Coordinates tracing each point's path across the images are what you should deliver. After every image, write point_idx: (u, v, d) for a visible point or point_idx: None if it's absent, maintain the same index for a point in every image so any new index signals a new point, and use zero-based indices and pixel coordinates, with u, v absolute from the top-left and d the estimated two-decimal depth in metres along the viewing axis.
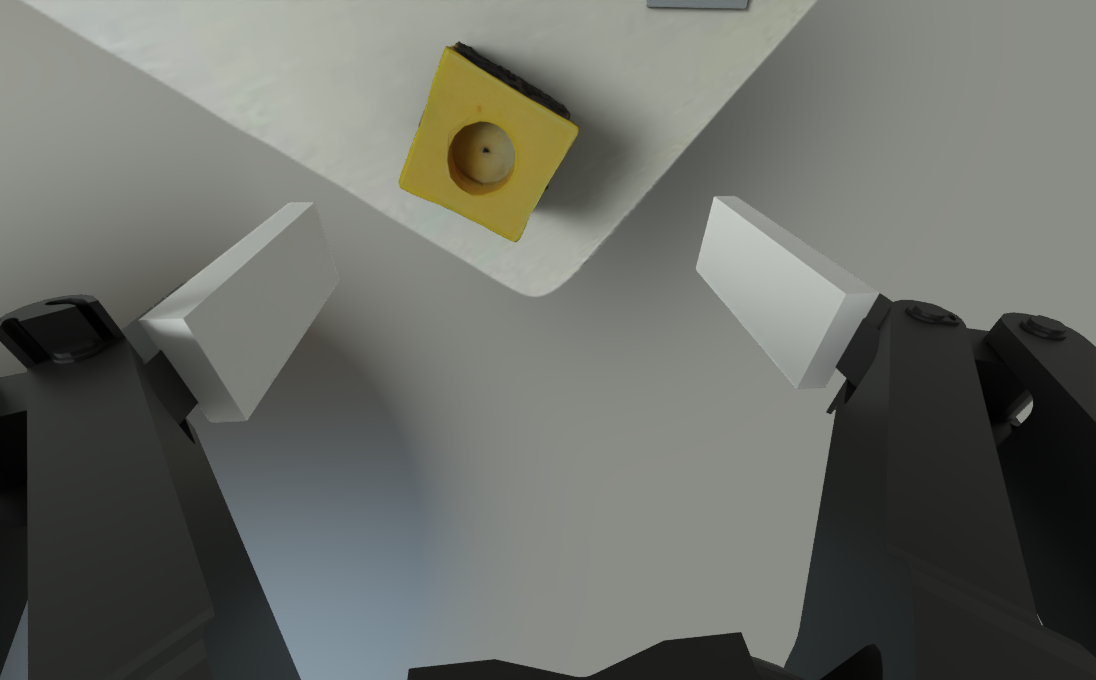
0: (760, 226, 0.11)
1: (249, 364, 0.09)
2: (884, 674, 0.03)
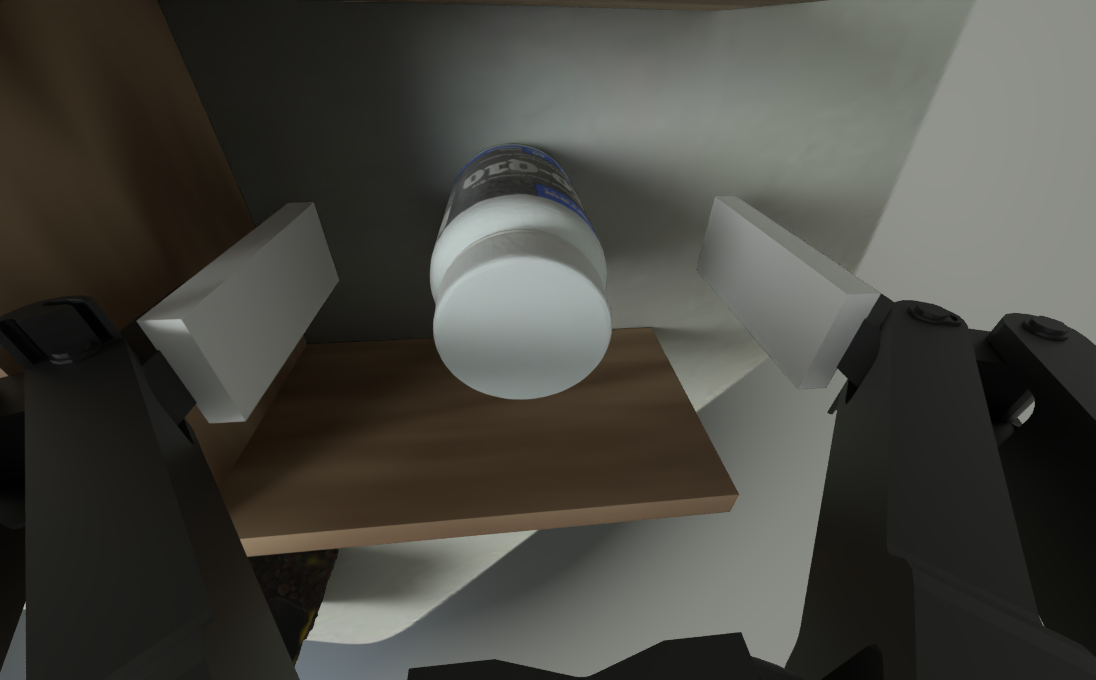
0: (761, 226, 0.11)
1: (248, 365, 0.09)
2: (885, 675, 0.03)
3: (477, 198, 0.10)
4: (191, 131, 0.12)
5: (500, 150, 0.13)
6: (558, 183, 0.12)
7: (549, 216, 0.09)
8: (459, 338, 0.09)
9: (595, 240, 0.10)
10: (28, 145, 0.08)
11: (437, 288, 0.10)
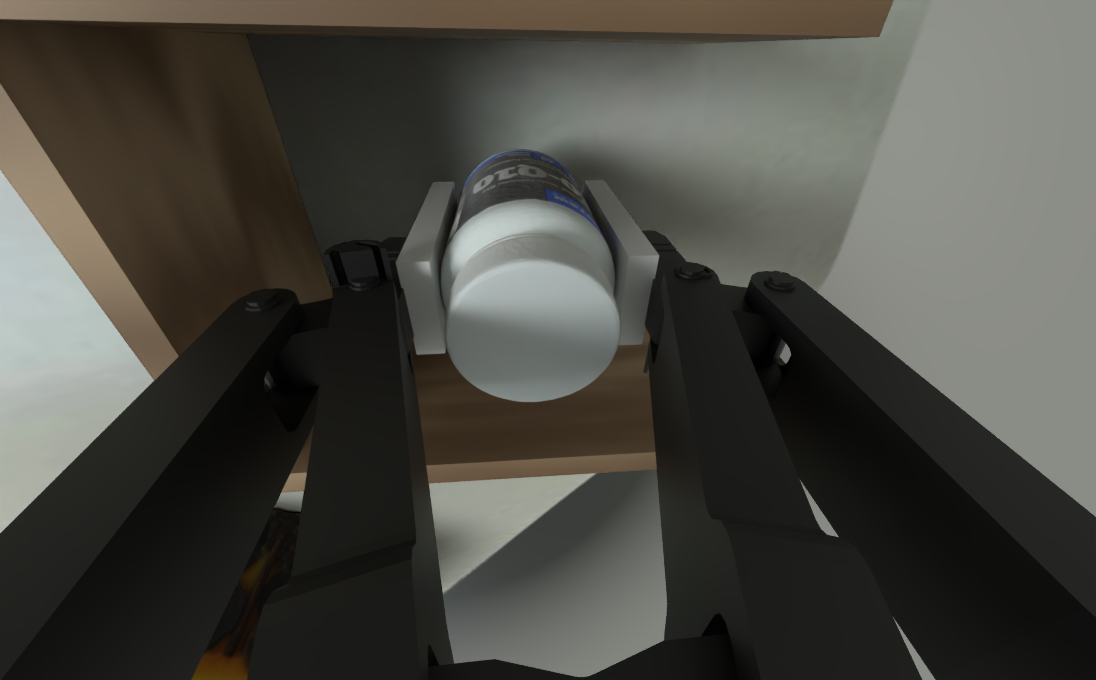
0: (603, 204, 0.13)
1: (444, 308, 0.11)
2: (733, 648, 0.04)
3: (487, 203, 0.10)
4: (267, 141, 0.15)
5: (509, 155, 0.13)
6: (567, 188, 0.12)
7: (559, 220, 0.09)
8: (470, 341, 0.09)
9: (604, 244, 0.10)
10: (169, 149, 0.11)
11: (447, 291, 0.10)
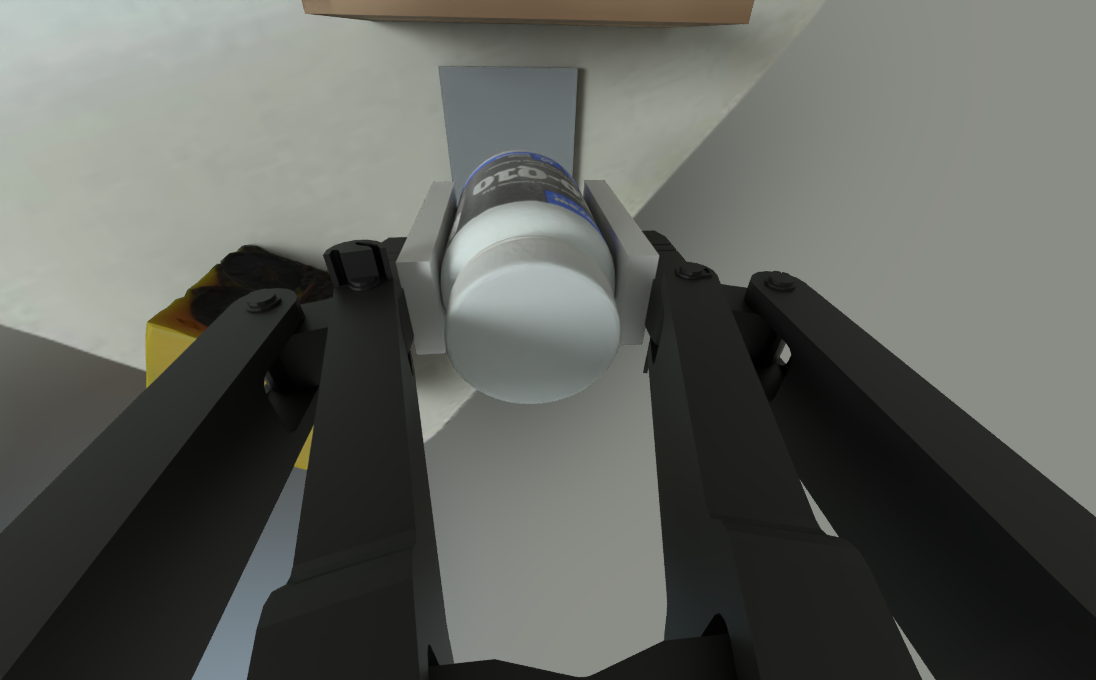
0: (603, 204, 0.13)
1: (444, 308, 0.11)
2: (733, 648, 0.04)
3: (487, 204, 0.10)
4: None
5: (509, 157, 0.13)
6: (567, 189, 0.12)
7: (559, 222, 0.09)
8: (470, 343, 0.09)
9: (604, 246, 0.10)
10: None
11: (447, 293, 0.10)
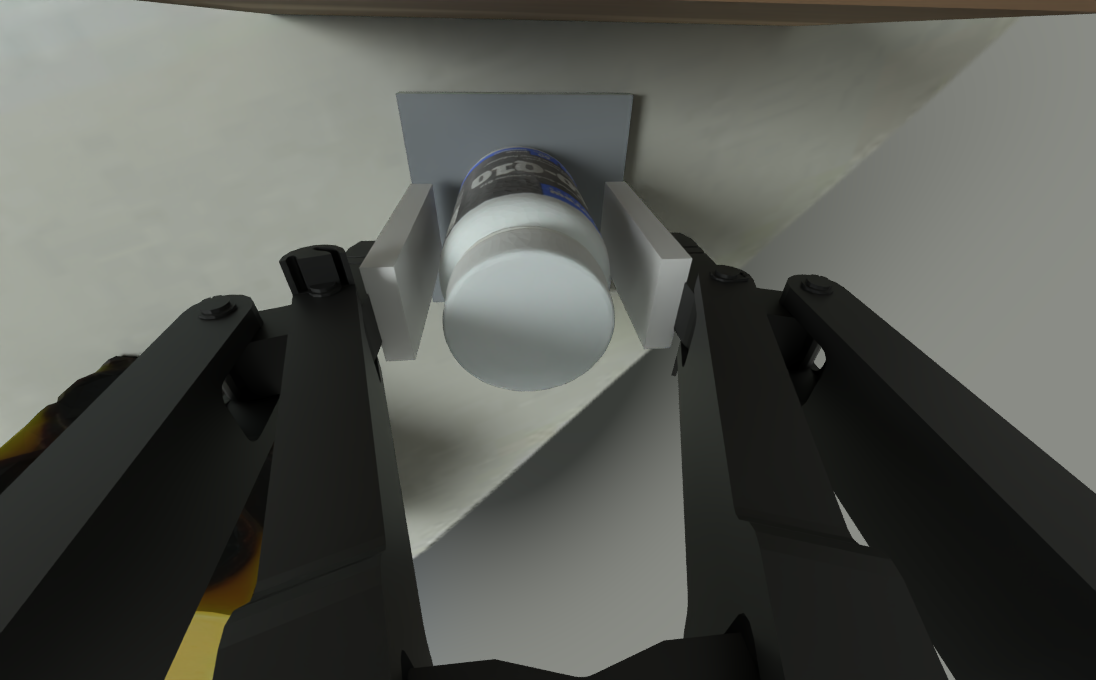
0: (628, 206, 0.13)
1: (414, 313, 0.11)
2: (756, 647, 0.04)
3: (485, 197, 0.10)
4: None
5: (507, 152, 0.14)
6: (563, 183, 0.12)
7: (554, 213, 0.10)
8: (467, 330, 0.09)
9: (598, 237, 0.10)
10: None
11: (446, 283, 0.11)
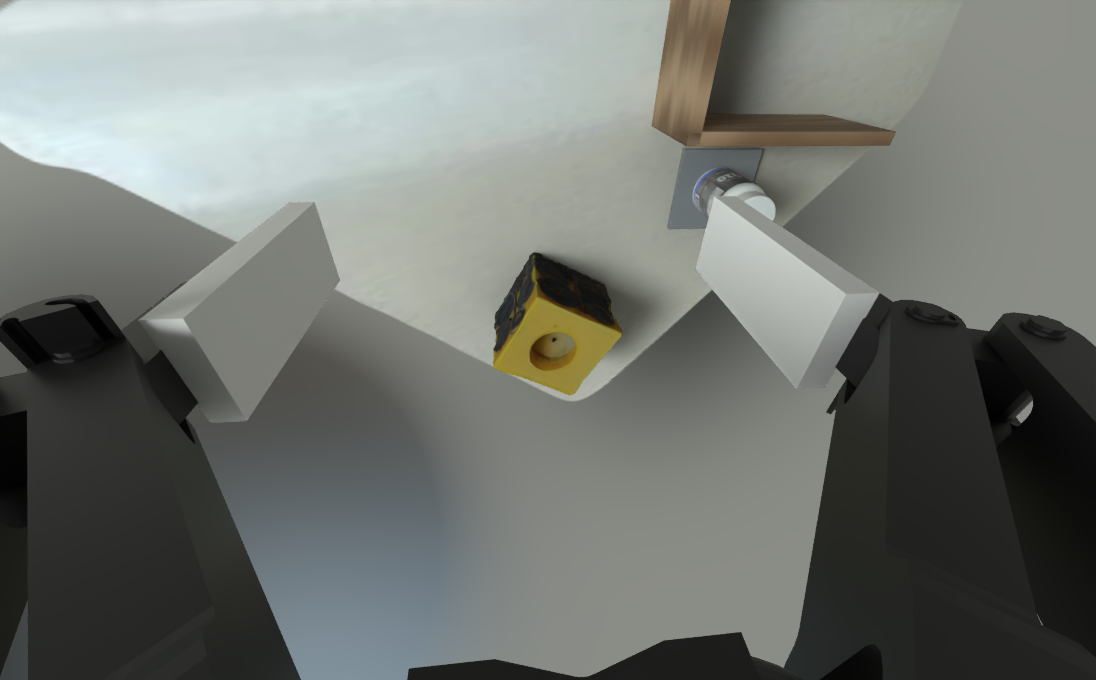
0: (760, 226, 0.11)
1: (249, 364, 0.09)
2: (885, 675, 0.03)
3: (734, 184, 0.37)
4: None
5: (721, 169, 0.40)
6: None
7: (757, 188, 0.36)
8: None
9: None
10: None
11: None
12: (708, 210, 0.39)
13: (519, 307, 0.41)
